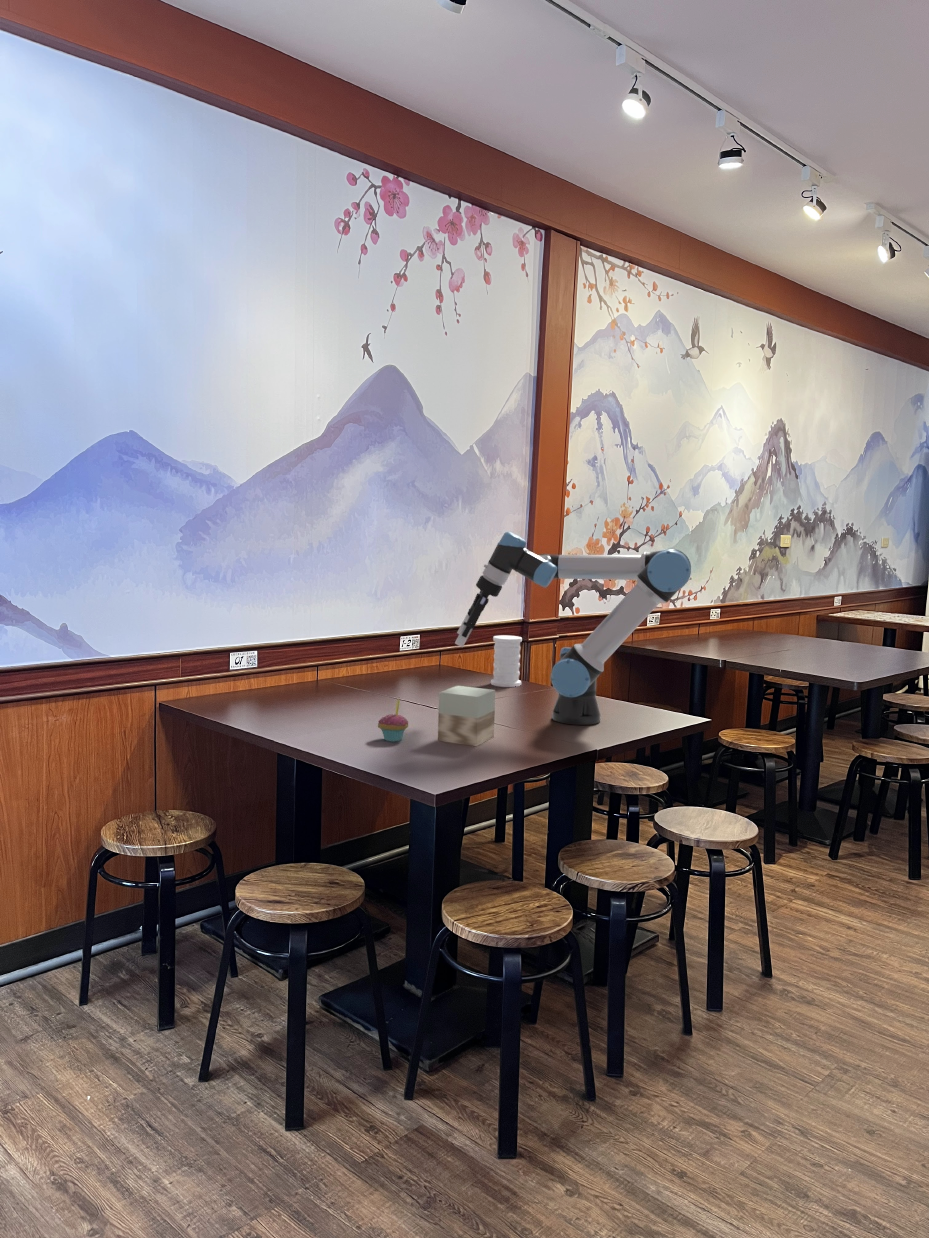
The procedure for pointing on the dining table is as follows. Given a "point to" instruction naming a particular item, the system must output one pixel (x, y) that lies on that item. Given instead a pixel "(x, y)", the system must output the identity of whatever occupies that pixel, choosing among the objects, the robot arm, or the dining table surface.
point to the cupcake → (393, 726)
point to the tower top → (466, 701)
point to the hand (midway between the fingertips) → (459, 639)
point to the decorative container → (506, 661)
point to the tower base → (466, 729)
